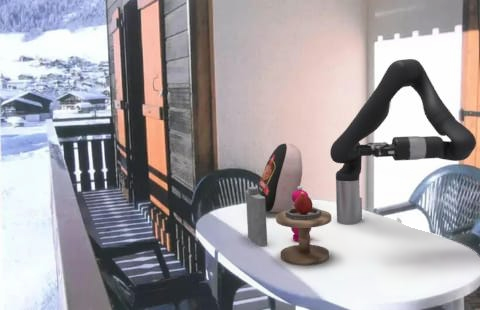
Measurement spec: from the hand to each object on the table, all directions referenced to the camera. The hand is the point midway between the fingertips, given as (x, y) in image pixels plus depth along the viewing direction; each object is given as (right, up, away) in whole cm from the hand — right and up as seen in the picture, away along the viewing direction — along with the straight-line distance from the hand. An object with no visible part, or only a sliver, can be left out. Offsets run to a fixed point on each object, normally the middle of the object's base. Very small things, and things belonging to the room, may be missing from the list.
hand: (357, 150), depth 176 cm
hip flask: (-32, -33, +27) cm, 53 cm away
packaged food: (-20, -27, +66) cm, 73 cm away
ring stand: (-16, -35, +7) cm, 39 cm away
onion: (-17, -22, +5) cm, 28 cm away
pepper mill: (-15, -33, +25) cm, 44 cm away
